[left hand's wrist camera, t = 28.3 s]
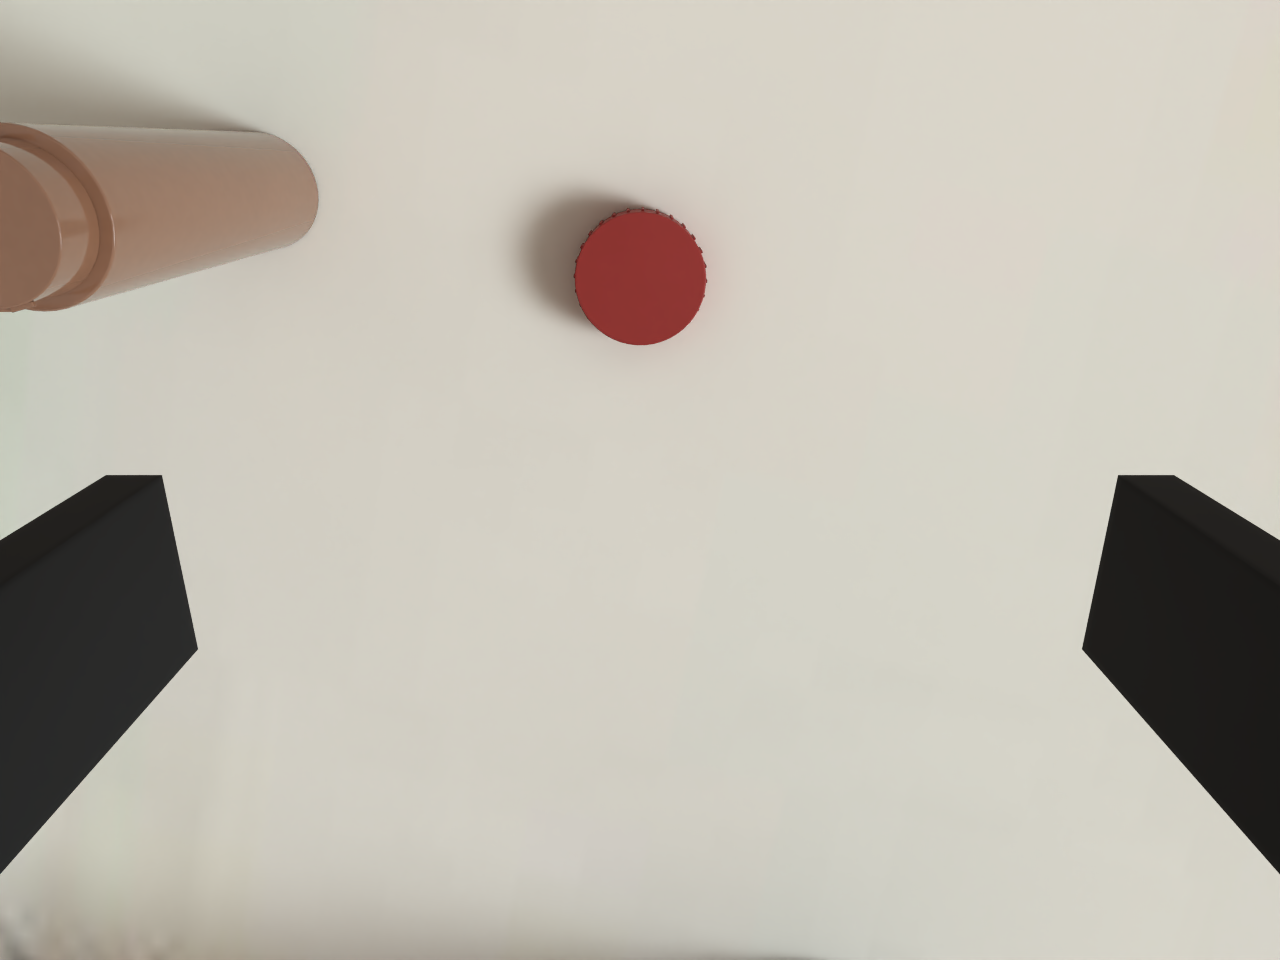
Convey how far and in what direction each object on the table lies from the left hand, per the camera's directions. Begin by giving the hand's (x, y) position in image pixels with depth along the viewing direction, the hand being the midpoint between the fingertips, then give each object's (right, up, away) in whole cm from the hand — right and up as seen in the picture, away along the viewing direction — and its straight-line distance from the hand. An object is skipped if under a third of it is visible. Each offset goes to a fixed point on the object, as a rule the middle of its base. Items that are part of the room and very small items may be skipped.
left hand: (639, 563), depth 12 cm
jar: (-16, +13, +25) cm, 32 cm away
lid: (0, +10, +25) cm, 26 cm away
